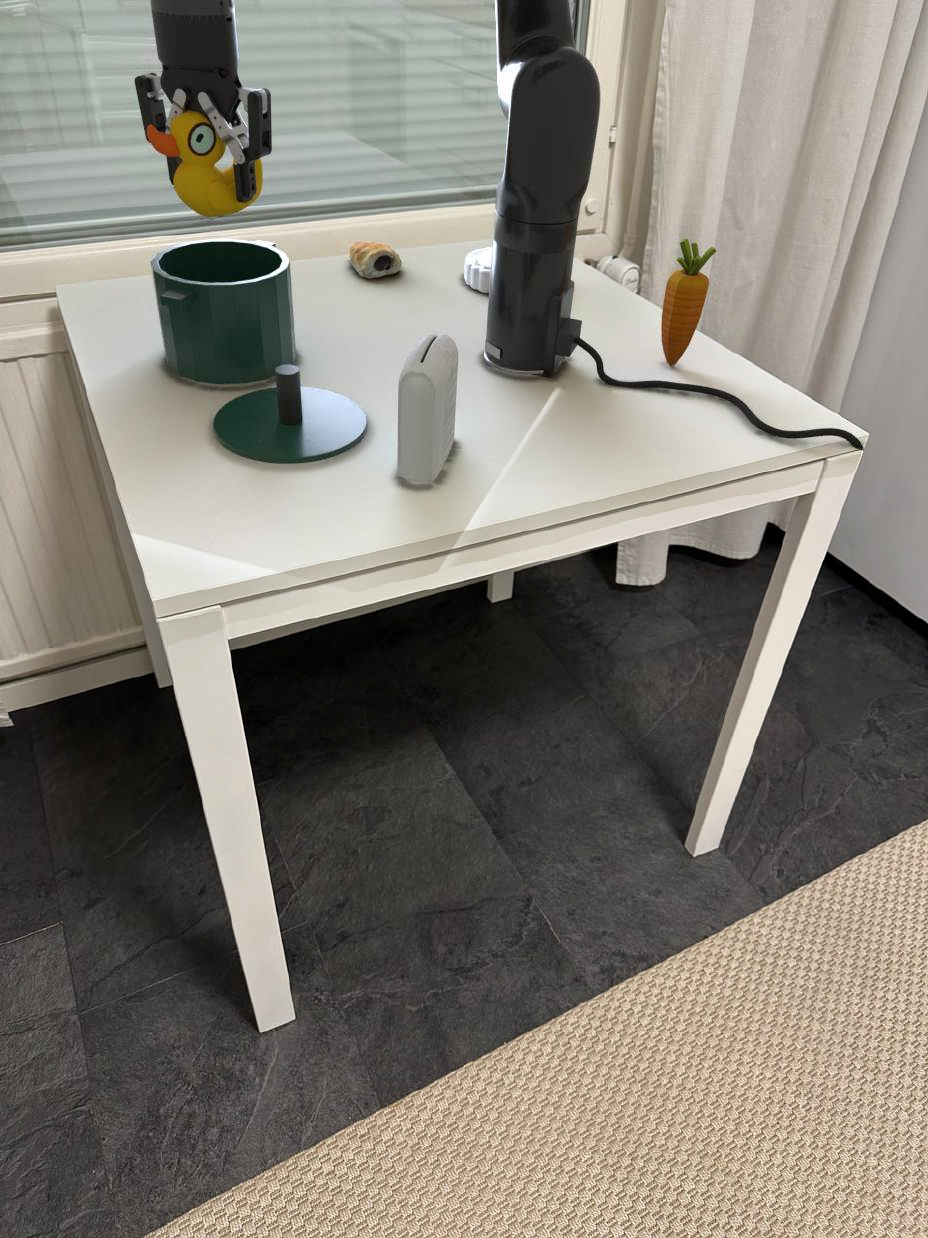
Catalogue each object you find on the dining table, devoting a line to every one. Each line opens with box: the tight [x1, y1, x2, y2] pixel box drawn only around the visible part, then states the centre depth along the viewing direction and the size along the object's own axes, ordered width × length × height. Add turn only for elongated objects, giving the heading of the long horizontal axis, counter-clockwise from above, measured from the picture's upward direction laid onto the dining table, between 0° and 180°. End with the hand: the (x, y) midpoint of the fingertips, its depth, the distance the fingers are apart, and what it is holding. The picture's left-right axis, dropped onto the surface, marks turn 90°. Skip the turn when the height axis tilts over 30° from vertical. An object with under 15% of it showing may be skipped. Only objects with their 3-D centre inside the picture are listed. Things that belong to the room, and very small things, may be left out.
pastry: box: [349, 241, 403, 280], centre depth 133 cm, size 9×7×4 cm
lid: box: [212, 364, 368, 464], centre depth 93 cm, size 16×16×7 cm
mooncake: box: [463, 246, 492, 294], centre depth 131 cm, size 12×12×4 cm
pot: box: [149, 238, 297, 386], centre depth 104 cm, size 15×20×12 cm
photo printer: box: [396, 332, 459, 483], centre depth 88 cm, size 10×4×12 cm, turn 168°
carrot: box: [660, 238, 717, 367], centre depth 108 cm, size 5×5×15 cm
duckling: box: [147, 110, 264, 218], centre depth 94 cm, size 11×5×10 cm, turn 122°
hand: (214, 195), depth 96 cm, fingers closed on duckling, 6 cm apart
